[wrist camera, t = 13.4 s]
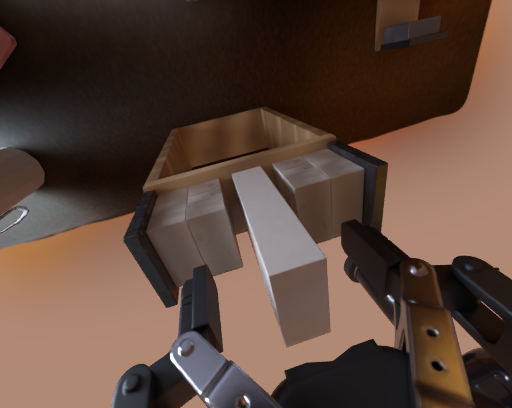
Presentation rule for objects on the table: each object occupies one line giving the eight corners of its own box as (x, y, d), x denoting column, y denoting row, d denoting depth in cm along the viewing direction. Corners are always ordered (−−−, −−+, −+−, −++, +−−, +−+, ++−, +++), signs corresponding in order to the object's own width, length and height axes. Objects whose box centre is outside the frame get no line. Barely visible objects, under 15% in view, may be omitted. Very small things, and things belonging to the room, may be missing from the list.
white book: (260, 165, 18) (326, 257, 9) (271, 218, 21) (331, 332, 12) (231, 173, 18) (268, 276, 9) (245, 225, 21) (285, 348, 11)
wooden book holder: (330, 133, 19) (389, 157, 13) (332, 199, 23) (380, 243, 17) (144, 183, 18) (119, 235, 12) (176, 246, 21) (168, 311, 15)
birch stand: (264, 106, 38) (330, 133, 19) (271, 144, 42) (332, 199, 23) (171, 129, 37) (144, 183, 18) (186, 167, 40) (176, 246, 21)
